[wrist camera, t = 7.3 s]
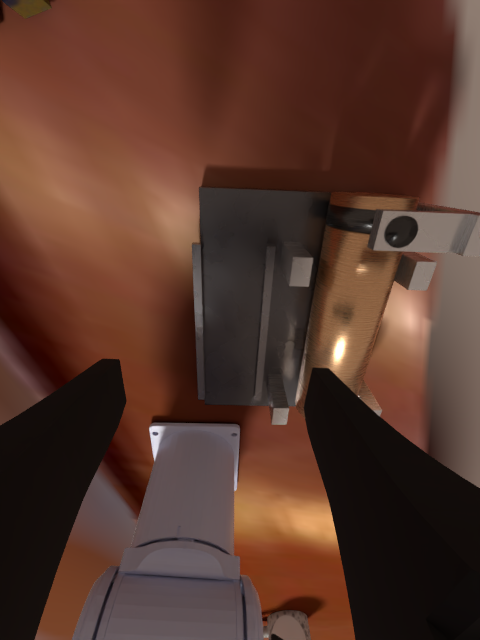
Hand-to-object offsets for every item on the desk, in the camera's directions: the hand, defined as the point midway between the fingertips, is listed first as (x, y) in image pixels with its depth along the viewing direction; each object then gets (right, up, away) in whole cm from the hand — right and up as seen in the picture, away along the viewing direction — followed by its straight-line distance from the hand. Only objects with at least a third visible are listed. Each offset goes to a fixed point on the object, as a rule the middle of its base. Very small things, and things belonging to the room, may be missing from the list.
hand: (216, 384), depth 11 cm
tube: (+7, +3, +8) cm, 11 cm away
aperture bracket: (+8, +9, +5) cm, 13 cm away
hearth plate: (+4, +3, +9) cm, 11 cm away
